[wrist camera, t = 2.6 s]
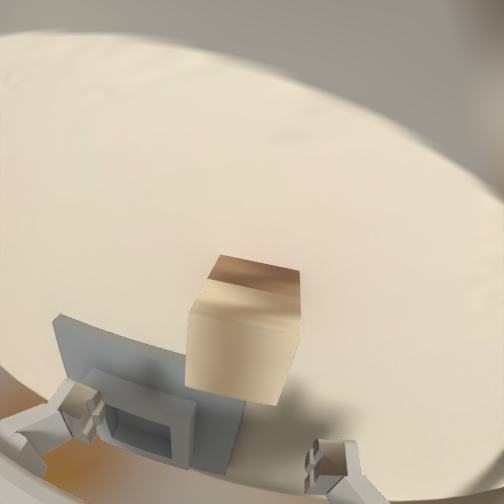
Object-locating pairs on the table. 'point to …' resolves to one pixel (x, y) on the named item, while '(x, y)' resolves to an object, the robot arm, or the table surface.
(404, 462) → the table surface
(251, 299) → the stack block
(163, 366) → the socket board
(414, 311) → the table surface
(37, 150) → the table surface
